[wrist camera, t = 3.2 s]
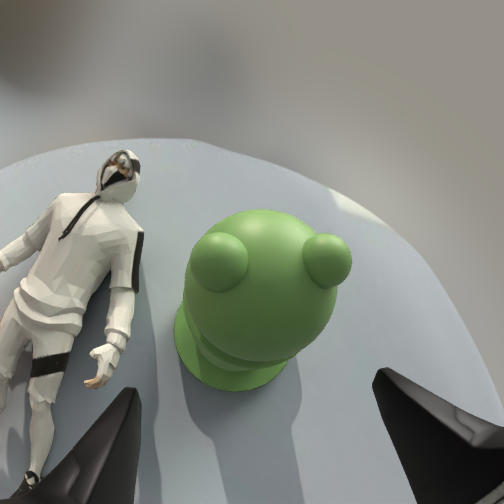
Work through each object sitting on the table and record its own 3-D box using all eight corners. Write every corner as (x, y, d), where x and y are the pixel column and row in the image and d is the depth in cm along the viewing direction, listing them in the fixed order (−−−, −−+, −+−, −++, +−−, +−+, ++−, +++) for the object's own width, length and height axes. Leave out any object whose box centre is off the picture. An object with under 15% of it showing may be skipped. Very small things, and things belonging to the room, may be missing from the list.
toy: (295, 385, 20) (435, 386, 6) (177, 391, 18) (109, 423, 5) (285, 277, 23) (375, 146, 10) (175, 278, 22) (137, 132, 8)
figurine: (-71, 433, 7) (67, 109, 18) (-33, 425, 12) (83, 153, 24) (58, 540, 8) (209, 160, 19) (80, 507, 14) (202, 202, 25)
